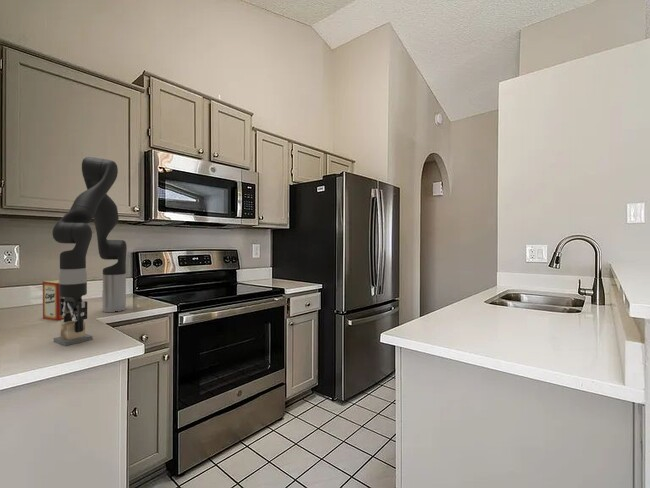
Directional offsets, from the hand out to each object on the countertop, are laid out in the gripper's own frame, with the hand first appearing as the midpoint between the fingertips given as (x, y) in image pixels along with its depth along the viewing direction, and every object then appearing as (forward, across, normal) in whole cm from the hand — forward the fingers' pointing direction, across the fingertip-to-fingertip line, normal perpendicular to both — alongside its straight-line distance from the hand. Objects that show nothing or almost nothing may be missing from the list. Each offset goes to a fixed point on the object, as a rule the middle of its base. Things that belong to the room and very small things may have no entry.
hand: (73, 330), depth 111 cm
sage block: (+4, +10, -4) cm, 11 cm away
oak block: (+2, 0, 0) cm, 2 cm away
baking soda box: (+4, +39, -11) cm, 41 cm away
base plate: (+4, 0, 0) cm, 4 cm away
